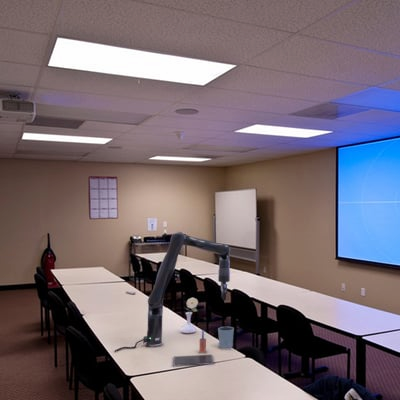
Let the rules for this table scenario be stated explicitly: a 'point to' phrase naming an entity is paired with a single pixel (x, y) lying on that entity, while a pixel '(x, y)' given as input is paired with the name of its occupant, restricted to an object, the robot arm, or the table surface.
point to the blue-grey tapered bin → (226, 337)
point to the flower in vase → (189, 327)
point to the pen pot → (202, 346)
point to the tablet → (193, 360)
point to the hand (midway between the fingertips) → (223, 298)
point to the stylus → (202, 334)
